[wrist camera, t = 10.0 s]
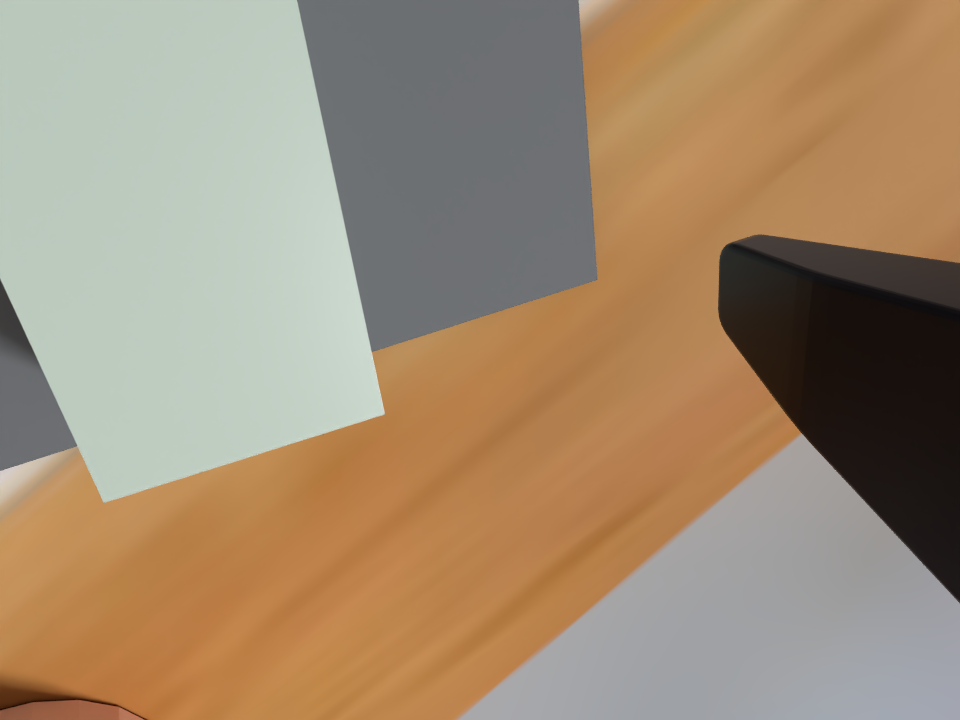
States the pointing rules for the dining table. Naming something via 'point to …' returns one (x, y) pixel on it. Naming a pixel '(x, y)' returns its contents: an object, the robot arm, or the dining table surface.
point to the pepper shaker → (66, 711)
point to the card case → (176, 233)
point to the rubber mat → (419, 174)
